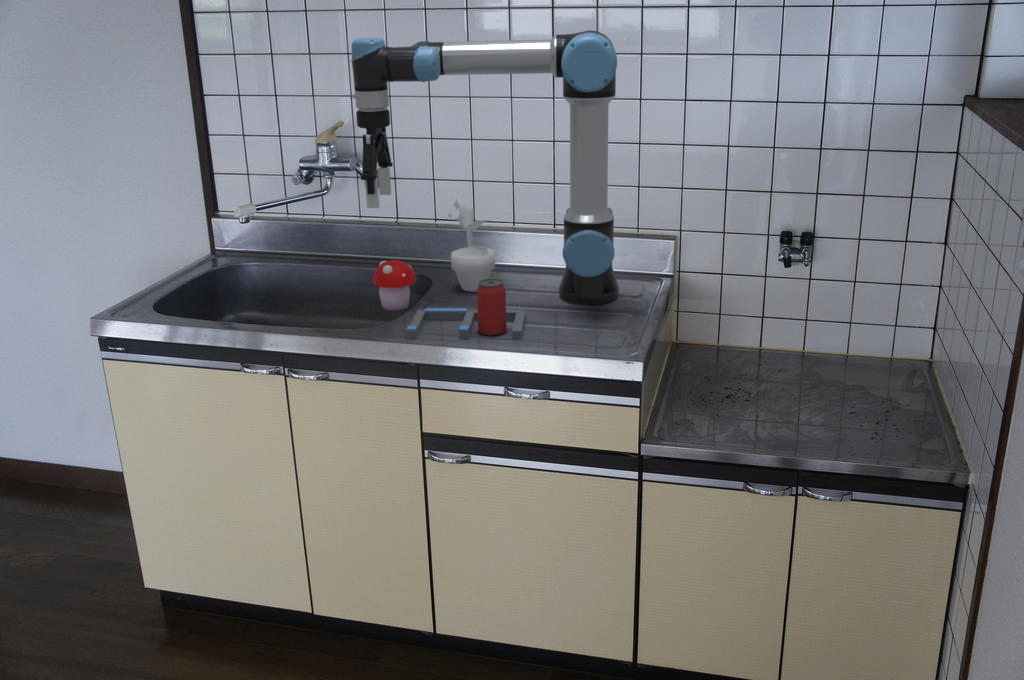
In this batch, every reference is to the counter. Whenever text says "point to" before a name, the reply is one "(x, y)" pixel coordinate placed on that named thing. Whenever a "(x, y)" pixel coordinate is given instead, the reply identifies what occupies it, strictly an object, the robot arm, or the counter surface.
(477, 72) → the robot arm
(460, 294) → the counter surface
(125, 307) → the counter surface
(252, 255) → the counter surface
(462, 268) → the potted plant
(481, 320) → the beer can
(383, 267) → the mushroom
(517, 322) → the duct comb
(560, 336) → the counter surface
